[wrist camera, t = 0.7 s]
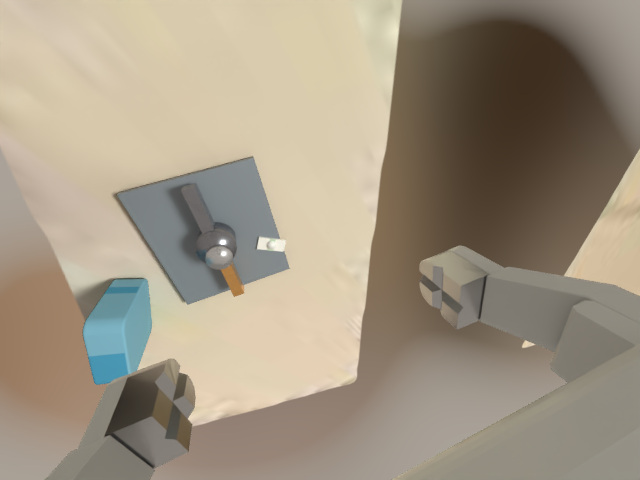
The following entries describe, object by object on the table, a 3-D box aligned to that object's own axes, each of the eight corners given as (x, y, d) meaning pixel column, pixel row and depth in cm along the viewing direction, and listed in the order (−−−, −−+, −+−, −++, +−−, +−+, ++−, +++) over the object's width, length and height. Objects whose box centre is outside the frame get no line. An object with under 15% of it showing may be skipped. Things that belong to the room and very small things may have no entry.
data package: (115, 275, 42) (79, 327, 32) (147, 275, 44) (122, 324, 34) (124, 329, 47) (95, 390, 37) (152, 327, 48) (132, 385, 38)
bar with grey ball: (170, 187, 37) (162, 197, 33) (211, 176, 38) (208, 184, 34) (222, 288, 47) (222, 305, 43) (253, 277, 48) (256, 293, 44)
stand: (120, 191, 37) (114, 196, 35) (258, 154, 41) (260, 156, 39) (188, 299, 48) (186, 307, 46) (292, 263, 52) (295, 268, 50)
